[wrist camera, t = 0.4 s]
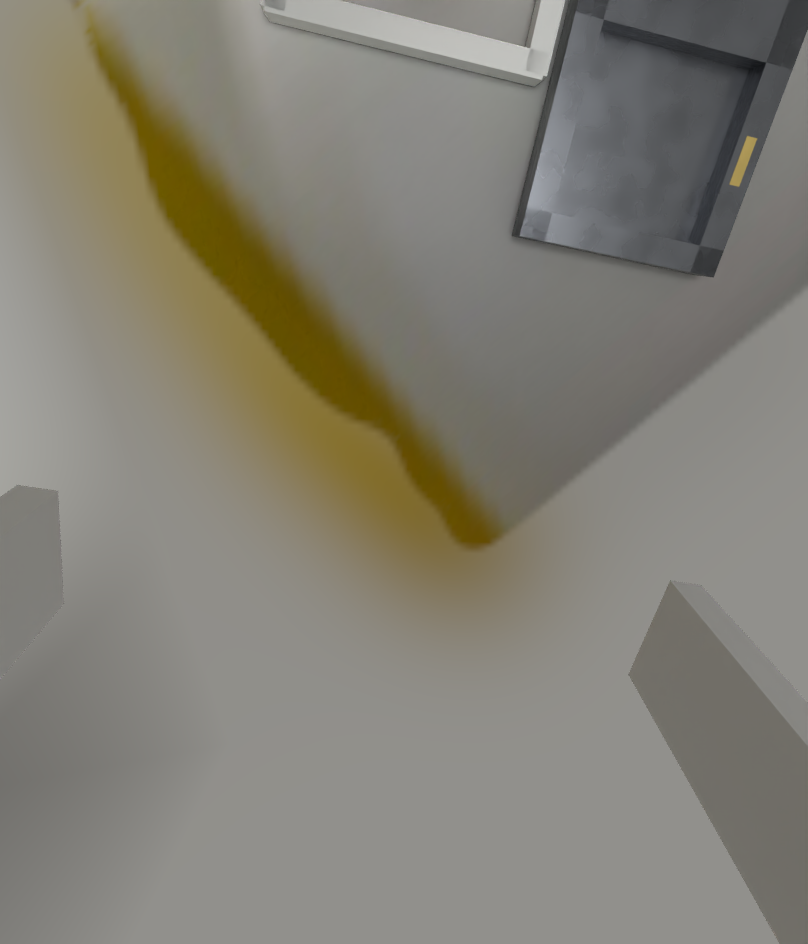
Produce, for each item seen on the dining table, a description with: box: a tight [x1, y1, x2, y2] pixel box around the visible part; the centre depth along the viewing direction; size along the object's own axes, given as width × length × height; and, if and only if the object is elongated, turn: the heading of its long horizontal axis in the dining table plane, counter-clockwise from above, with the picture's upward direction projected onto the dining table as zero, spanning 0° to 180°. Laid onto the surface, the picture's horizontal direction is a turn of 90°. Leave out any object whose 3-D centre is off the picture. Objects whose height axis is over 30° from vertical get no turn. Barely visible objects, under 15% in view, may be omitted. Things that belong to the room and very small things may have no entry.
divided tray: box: [512, 0, 808, 277], centre depth 29 cm, size 24×12×2 cm, turn 169°
